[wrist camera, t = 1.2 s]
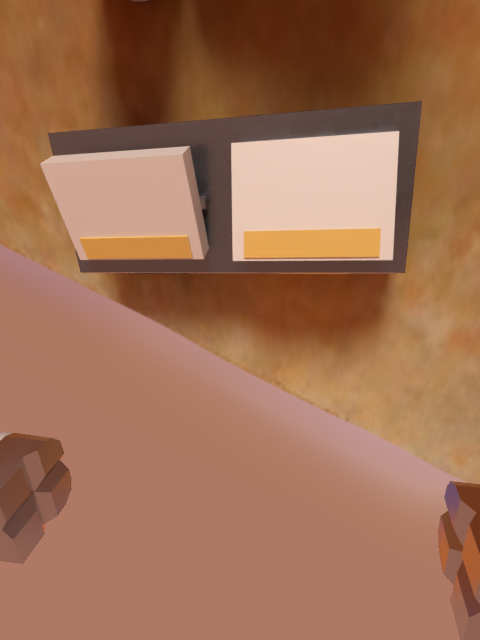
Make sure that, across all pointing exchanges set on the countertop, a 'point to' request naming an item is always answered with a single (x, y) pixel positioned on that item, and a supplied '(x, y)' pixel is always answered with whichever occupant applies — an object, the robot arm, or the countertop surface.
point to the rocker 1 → (130, 204)
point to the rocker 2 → (315, 198)
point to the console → (216, 179)
